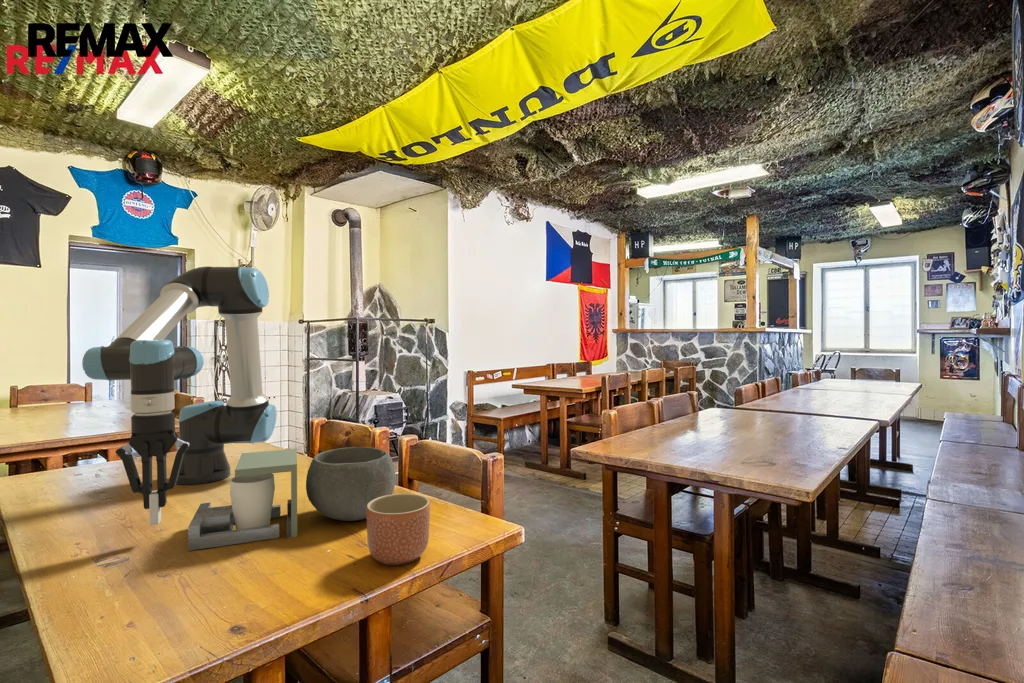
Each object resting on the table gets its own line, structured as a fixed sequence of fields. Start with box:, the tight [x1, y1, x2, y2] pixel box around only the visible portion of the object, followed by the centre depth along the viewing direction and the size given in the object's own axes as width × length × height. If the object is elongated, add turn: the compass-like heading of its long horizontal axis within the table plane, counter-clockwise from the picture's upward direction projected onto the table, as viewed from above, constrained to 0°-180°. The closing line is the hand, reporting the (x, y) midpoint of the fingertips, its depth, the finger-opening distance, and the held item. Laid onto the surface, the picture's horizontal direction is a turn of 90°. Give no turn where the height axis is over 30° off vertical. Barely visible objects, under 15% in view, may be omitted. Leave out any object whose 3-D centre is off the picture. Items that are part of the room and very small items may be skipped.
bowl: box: [305, 446, 397, 522], centre depth 124 cm, size 21×21×15 cm
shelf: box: [234, 448, 298, 539], centre depth 115 cm, size 16×12×16 cm
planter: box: [365, 493, 431, 566], centre depth 100 cm, size 12×12×11 cm
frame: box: [187, 502, 282, 551], centre depth 113 cm, size 15×17×5 cm
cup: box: [229, 473, 276, 530], centre depth 114 cm, size 9×9×12 cm
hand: (155, 522), depth 107 cm, fingers closed
